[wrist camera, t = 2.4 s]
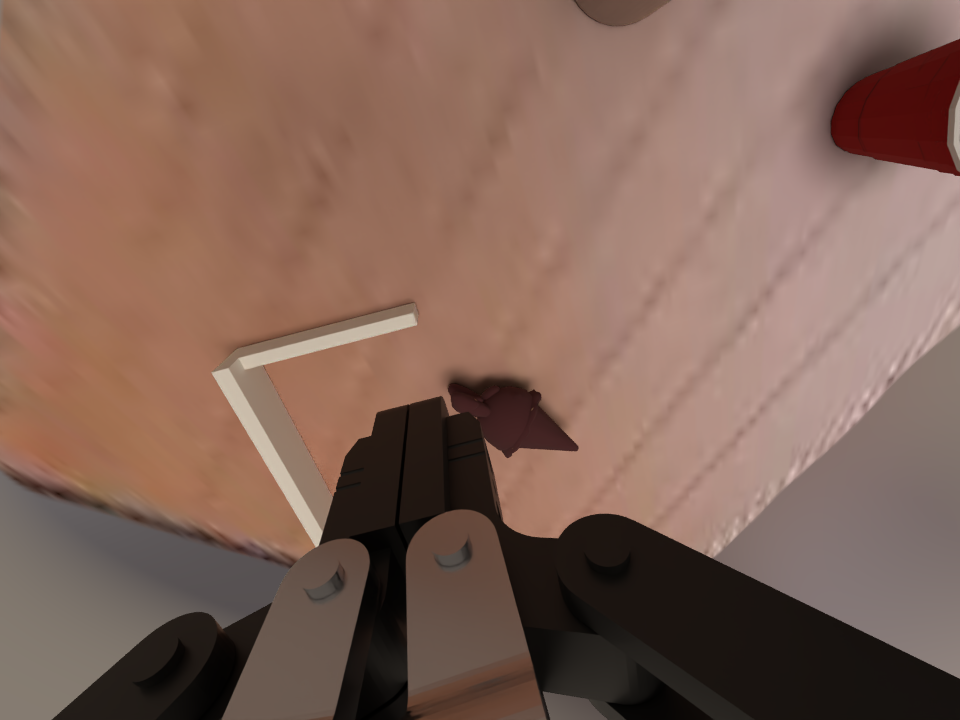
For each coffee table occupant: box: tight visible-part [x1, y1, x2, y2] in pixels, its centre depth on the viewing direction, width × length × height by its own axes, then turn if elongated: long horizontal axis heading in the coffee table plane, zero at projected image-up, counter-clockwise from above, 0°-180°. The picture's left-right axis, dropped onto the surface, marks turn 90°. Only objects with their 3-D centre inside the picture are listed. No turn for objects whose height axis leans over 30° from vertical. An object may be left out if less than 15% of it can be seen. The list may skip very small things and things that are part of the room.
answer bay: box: [211, 302, 418, 547], centre depth 43 cm, size 18×27×5 cm, turn 13°
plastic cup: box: [831, 39, 960, 176], centre depth 31 cm, size 11×11×12 cm
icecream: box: [448, 383, 579, 458], centre depth 42 cm, size 7×7×15 cm
